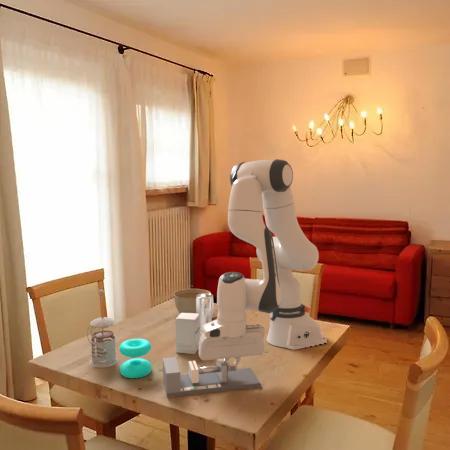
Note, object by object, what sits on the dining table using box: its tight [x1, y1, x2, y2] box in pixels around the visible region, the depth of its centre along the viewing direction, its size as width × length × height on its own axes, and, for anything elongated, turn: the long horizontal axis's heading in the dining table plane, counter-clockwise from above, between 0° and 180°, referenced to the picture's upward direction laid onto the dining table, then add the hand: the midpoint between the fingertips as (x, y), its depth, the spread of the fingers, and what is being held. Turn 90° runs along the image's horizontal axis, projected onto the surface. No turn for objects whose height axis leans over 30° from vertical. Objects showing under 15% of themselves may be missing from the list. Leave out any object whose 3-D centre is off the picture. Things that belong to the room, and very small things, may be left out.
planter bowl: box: [173, 288, 212, 314], centre depth 205 cm, size 16×16×11 cm
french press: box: [86, 289, 119, 368], centre depth 159 cm, size 10×12×25 cm
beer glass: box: [196, 293, 215, 336], centre depth 187 cm, size 7×7×15 cm
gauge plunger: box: [197, 359, 227, 382], centre depth 143 cm, size 9×8×5 cm
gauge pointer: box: [188, 360, 199, 383], centre depth 142 cm, size 2×6×4 cm, turn 13°
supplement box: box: [175, 313, 201, 355], centre depth 169 cm, size 7×7×13 cm
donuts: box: [118, 338, 153, 379], centre depth 151 cm, size 10×10×10 cm
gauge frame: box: [162, 356, 261, 398], centre depth 143 cm, size 28×11×7 cm, turn 103°
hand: (231, 370), depth 144 cm, fingers closed
